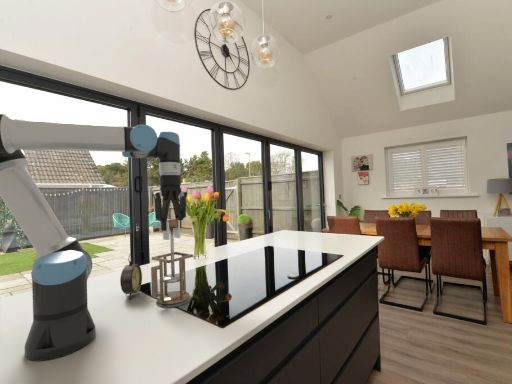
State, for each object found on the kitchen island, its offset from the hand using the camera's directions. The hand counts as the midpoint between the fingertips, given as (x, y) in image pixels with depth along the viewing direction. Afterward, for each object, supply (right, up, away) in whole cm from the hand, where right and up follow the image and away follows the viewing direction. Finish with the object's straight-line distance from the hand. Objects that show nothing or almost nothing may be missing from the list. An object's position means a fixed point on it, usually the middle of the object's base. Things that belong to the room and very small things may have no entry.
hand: (171, 238), depth 97 cm
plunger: (+1, -15, 0) cm, 15 cm away
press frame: (+1, -23, 0) cm, 23 cm away
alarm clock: (-18, -24, +6) cm, 30 cm away
